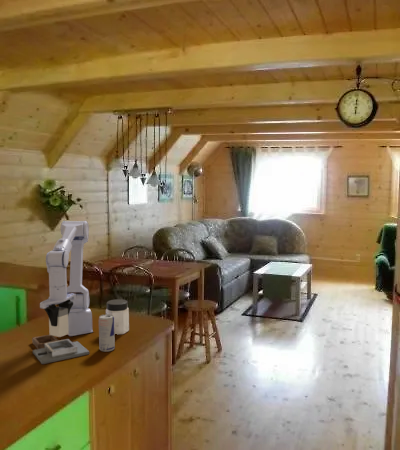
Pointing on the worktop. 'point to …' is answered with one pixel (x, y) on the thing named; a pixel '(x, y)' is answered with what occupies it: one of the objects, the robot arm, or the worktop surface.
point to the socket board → (59, 351)
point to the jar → (119, 315)
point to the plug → (60, 324)
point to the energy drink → (106, 333)
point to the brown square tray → (43, 340)
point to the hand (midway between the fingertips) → (59, 324)
